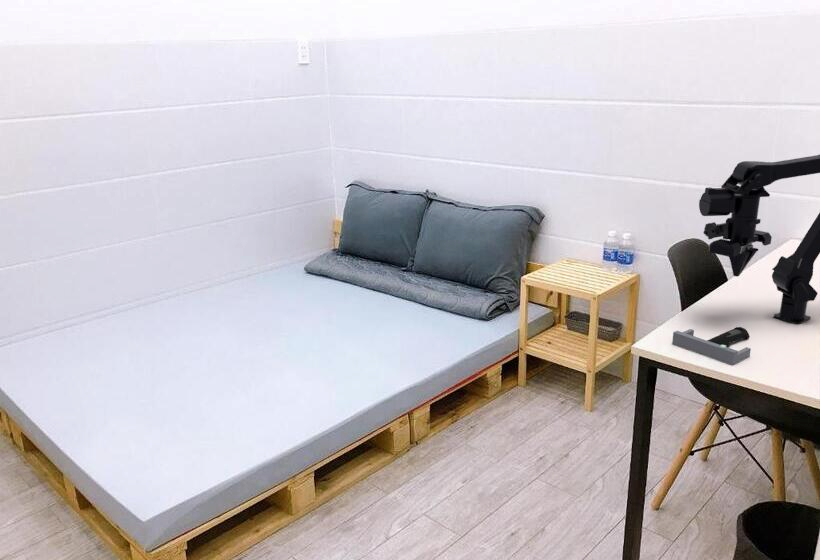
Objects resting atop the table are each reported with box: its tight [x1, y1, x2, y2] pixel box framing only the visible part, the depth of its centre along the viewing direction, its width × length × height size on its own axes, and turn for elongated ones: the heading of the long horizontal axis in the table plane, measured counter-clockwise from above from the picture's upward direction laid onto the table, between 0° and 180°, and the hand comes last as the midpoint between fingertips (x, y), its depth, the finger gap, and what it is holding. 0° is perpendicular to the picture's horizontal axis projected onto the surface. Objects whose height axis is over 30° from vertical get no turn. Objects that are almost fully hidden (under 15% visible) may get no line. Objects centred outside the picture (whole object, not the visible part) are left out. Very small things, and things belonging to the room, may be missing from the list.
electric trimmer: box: [706, 326, 751, 348], centre depth 160 cm, size 4×16×3 cm, turn 122°
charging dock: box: [671, 328, 752, 366], centre depth 156 cm, size 7×15×3 cm, turn 36°
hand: (736, 275), depth 169 cm, fingers closed
